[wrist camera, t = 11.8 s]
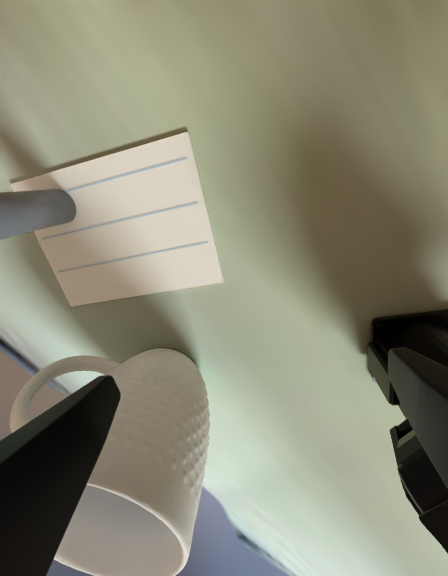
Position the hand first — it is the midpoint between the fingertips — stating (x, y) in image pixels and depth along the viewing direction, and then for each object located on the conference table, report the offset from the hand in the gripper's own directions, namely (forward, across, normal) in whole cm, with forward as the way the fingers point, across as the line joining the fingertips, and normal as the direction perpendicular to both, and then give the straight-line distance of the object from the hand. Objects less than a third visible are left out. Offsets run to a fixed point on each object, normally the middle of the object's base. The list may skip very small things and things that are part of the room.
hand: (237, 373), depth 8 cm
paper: (+13, +10, -4) cm, 17 cm away
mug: (+13, +11, +10) cm, 20 cm away
